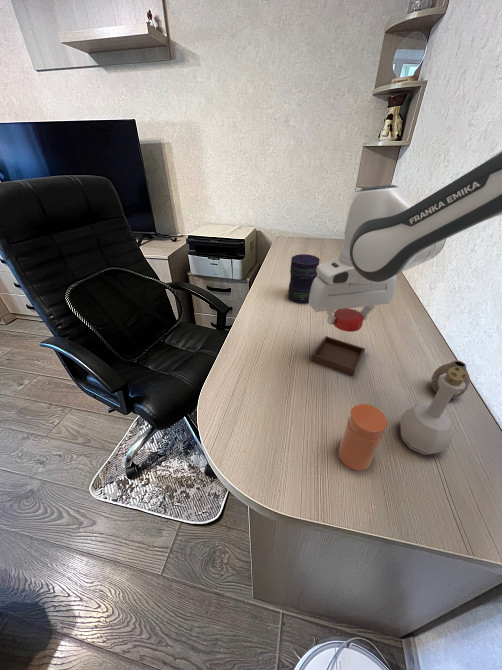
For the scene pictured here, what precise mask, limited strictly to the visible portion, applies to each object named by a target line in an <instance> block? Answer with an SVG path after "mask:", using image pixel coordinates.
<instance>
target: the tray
mask: <svg viewBox="0 0 502 670" xmlns="http://www.w3.org/2000/svg"><path fill="white" fill-rule="evenodd" d="M365 352H366V348H364V347H361V346H359V345H355V344H352V343H349V342H346V341H343V340H339V339H336V338H334V337H330V336H327V335H326V336H324V338H323V339H322V341H321V342H320V343H319V344H318V346H317V348H316V349H315V350H314V352H313V354H312V355H311V362H314V363H316V364H319V365H322V366H324V367H327V368H330V369H333V370H335V371H338V372H341V373H344V374H346V375H349V376H351V377H354V376H355V373H356V372H357V369H358V367H359V366H360V363H361V361H362V359H363V357H364V355H365Z"/></svg>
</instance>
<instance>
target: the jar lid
mask: <svg viewBox="0 0 502 670" xmlns="http://www.w3.org/2000/svg"><path fill="white" fill-rule="evenodd" d="M333 315H334V316H335V317H336V318H337V320H336V324H332V325H333V326H334V327H335V328H337V329H338V330H340V331H343V332H348V333H349V332H350V333H354V332H358V331H360V330H361V328H362V327H363V324H364V320H363V319H364V317H363V315H362V314H361V313H360V311H358V310H356V309H353V308H346V309H338V310H334V313H333Z"/></svg>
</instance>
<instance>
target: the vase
mask: <svg viewBox="0 0 502 670" xmlns="http://www.w3.org/2000/svg"><path fill="white" fill-rule="evenodd" d="M451 367H460V368H462V369H464V370H465V372H466V375H465V377H464V382H465V384H466V386H465V388H464V389H463V390H462V391H461V393H460V394H455V395H453V396H452V398H451V399H456V398H459V397H461V396H463V395H464V394H465V393H466V391H467V390H468V389H469V387H470V383H471V377H470V374H469V371H468V369H467V364H466V363H465V362H464V361H461V360H457V359H456V360H453V361H451V362H449V363H444V364H442V365H440V366H439V367H437V369H436V370H434V371H433V374H432V376H431V379H430V384H431V385H430V386H431V388H432V390H433V391H434V393H435V394H436V393H437V392H438V390H439V385H438V380H439V377H440V375H442V374H444V373H448V370H449V369H450V368H451Z"/></svg>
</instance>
